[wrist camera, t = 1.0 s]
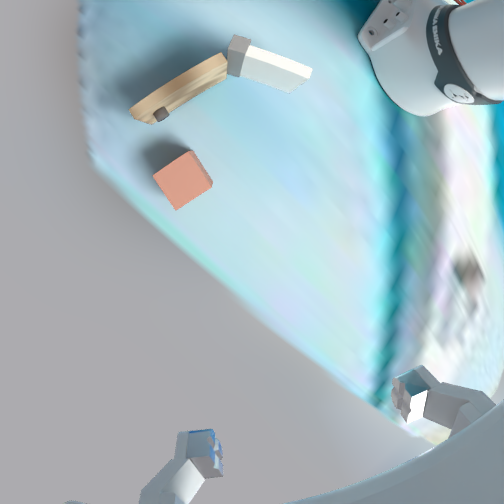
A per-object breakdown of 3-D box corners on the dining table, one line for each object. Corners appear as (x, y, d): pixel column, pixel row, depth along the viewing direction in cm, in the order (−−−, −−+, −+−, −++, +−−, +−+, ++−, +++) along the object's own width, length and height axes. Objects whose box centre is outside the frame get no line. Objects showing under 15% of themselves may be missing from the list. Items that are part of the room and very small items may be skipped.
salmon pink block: (162, 171, 32) (152, 175, 27) (193, 150, 32) (188, 151, 27) (181, 201, 33) (175, 210, 29) (213, 181, 33) (211, 187, 28)
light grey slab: (230, 62, 28) (234, 34, 20) (293, 83, 30) (316, 64, 21) (226, 73, 29) (227, 48, 20) (288, 95, 30) (311, 78, 22)
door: (221, 70, 28) (221, 52, 21) (230, 85, 29) (233, 69, 22) (146, 116, 29) (128, 109, 22) (156, 131, 30) (139, 127, 23)
